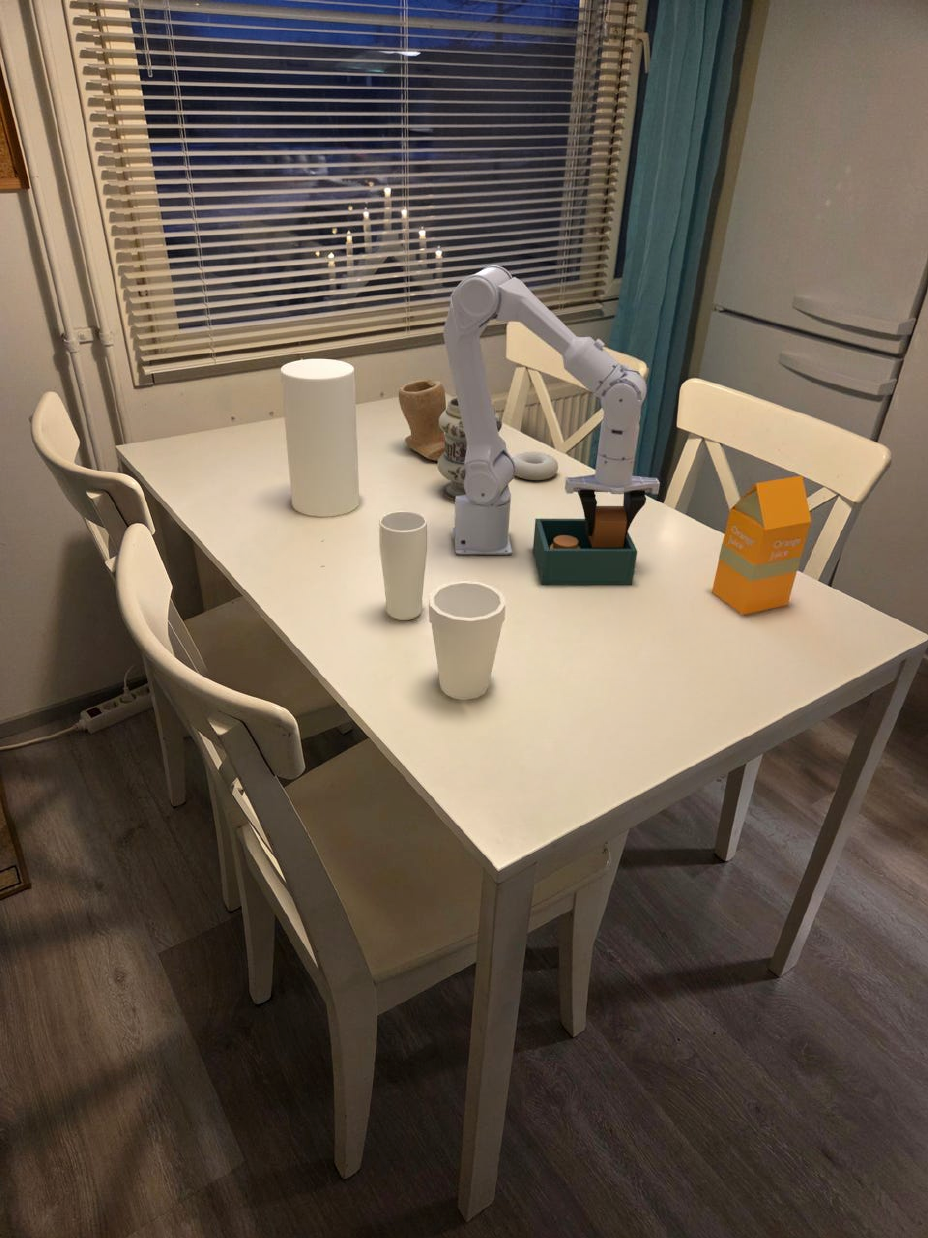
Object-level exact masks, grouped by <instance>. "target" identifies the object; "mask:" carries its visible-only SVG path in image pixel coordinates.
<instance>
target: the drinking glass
mask: <svg viewBox="0 0 928 1238" xmlns="http://www.w3.org/2000/svg"><path fill="white" fill-rule="evenodd" d="M378 542H379V543H378V546H379V555H380V563H381V571H382V580H383V587H384V595H385V611H386V613H387V615H388V616H389V617H390V618H392V619H394V620H397V621H409V620H413V619H416V618H418V617H419V615H421V614H422V611H423V594H424V582H425V576H426V575H425V574H426V573H425V572H426V563H427V555H428V521H427V518H425V516H424V515H422V514H420V513H418V512H414V511H408V510H407V511H406V510H401V511H400V510H398V511H393V512H389V513H386V514H384V515H382V516H381V517H380V519H379V524H378Z"/></svg>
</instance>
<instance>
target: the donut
mask: <svg viewBox="0 0 928 1238" xmlns="http://www.w3.org/2000/svg"><path fill="white" fill-rule="evenodd" d="M512 459H513V460H514V462H515V466H516V473H515V477H517V478H520V479H523V480H527V481H544V480H548V479H550V478H553V477H554V476H555V475H556V474H557V472H558V471H559V464H558V461H557V459H555V458H554V457H553V456H552V455H550V454H548V453H544V452H540V451H523V452H519V453H517V454H515V455H513V456H512Z"/></svg>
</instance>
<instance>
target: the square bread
mask: <svg viewBox="0 0 928 1238" xmlns="http://www.w3.org/2000/svg"><path fill="white" fill-rule="evenodd" d="M626 525H627V517H626V510H625V507H624V506H623V505H597V506H596V509H595V514H594V520H593V532H592V536H588V538H589V540H590V543H591V545H592V548H623V545H624V538H625V531H626Z"/></svg>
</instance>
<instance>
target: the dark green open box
mask: <svg viewBox="0 0 928 1238" xmlns="http://www.w3.org/2000/svg"><path fill="white" fill-rule="evenodd" d="M560 535H568V536H572V537H575V538H576V539H577V540H578V546H579V547H580V549H550V546H551V544H553V541H554V538H555V537H557V536H560ZM532 554H533V557H534V561H535V565H536V569H537V572H538V577H539V580H540V584H541V585H542V586H555V585H556V586H558V585H559V586H577V585H578V586H632V585H633V581H634V576H635V569H636V564H637V563H636V562H637V556H638V549H637V548H636V545H635V543H634V541H633V539H632V537H631V535H630V533H629V531H628V532H627V535H626V536H625V538H624V545H623V548H592V545H591V543H590V540H589V538H588V535H587V533H586V531H585V518H535V519H534V530H533V542H532Z"/></svg>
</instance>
